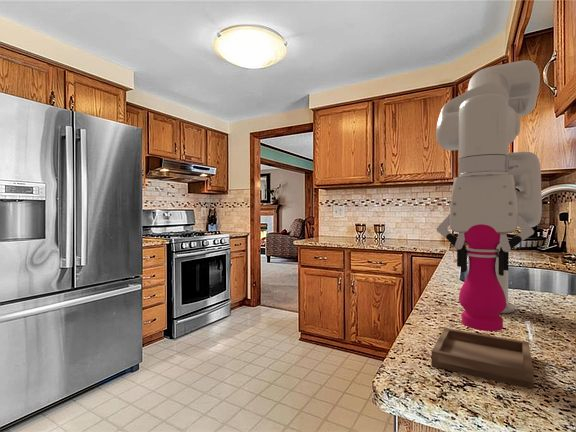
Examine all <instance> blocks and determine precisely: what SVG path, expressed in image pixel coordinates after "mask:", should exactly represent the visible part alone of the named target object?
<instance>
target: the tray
mask: <svg viewBox="0 0 576 432" xmlns="http://www.w3.org/2000/svg"><path fill="white" fill-rule="evenodd" d="M532 361H533V360H532V355H531V349H530V343H529V341H524V340H518V339H513V338H506V337H501V336H495V335H488V334H482V333H476V332H469V331H464V330H460V329H459V330H458V329H452V328H446V327H444V328H443V330H442V332H441V333H440V335H439V337H438V338H437V341H436V342H435V344H434V346H433V348H432V350H431V360H430V362H431V367H434V368H438V369H442V370H447V371H451V372H456V373H460V374H463V375H469V376H473V377H474V376H475V377H478V378H482V379H485V380H486V379H487V380H491V381H495V382H500V383H504V384H507V385H512V386H516V387H517V386H518V387H521V388H525V389H530V390H534V367H533V362H532Z"/></svg>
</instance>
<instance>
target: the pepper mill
mask: <svg viewBox="0 0 576 432" xmlns="http://www.w3.org/2000/svg"><path fill="white" fill-rule="evenodd" d="M464 238H465V244H467V247H466V250H467V253H466V255H467V257H468V256H469V272H468V271H467V272H468V273H467V276H466V278H465V280H464V282H463V284H462V286H461V288H460V290H459V295H458V301H459V304H460V306H461V307H462V308H463V310H464V311H463V312H462V313H461V323H462V325H464V326H465V327H467V328H470V329H474V330H478V331H483V332H500V331H502V330H503V328H504V319H503V317H502V316H500V314H502V313H501V312H502V311H504V309H505V308H506V305H507V304H506V297H505V294H504V291H503V289H502V287H501V285H500V283H499V281H498V279H497V275H496V270H495V263H496V258H497V257H499V255H498V252H499V249H496V248H497V246H498V244H499V243H500V234H499V233H497V232H496V231H495V229H494V228H492V227H491V226H488V225H483V224H479V225H475V226H472V227H471V228H469V230H468V231H467V232H466V233H464ZM468 246H469V247H468Z"/></svg>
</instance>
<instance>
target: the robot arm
mask: <svg viewBox="0 0 576 432" xmlns="http://www.w3.org/2000/svg"><path fill="white" fill-rule="evenodd" d="M540 75H541V74H540V70H539V68H538V66H537V64H536V63H535V62H534V61H532V60H529V59H527V60H526V59H523V60H517V61H513V62H508V63H503V64H499V65H497V64H496V65H492V66H489V67H488V66H487V67H485V68H482V69H479V70H478V71H477V72H475V73H474V74H473V75H472V76H471V78H470V79H469V83H468V86H467V90H466V91H465V92H463V93H462V94H459V95H458V96H456V97H454V98H452V99H450V100H449V101H448V102H446V103H445V104H444V105H443V106H442V108H441V110H440V112H439V116H438V119H437V123H436V127H435V138H436V142H437V144H438V145H439V147H440V148H441V149H443V150H445V151H458V176H457V177H454V180H453V185H452V189H451V197H450V207H449V208H450V209H449V214H448V215H447V216H446V218H444V220H443V221H442V222H440V224H439V226H438V227H437V228H436V232H437V233H439V235H441V236H442V237H444V238H445V239H446V241H448V243H450V244H451V245H452V246H454V247H455V249H456V266H457V267H458V268H460V273H467V272H469V256H467V255H466V253H467V250H466V248H468V247H469V246H468V245H467V246H466V242H465V238H464V233H466V232H467V231H468V230H469V228H471V227H472V226H475V225H479V224H483V225H488V226H491V227H492V228H494V229H495V231H496V232H497V233H499V234H500V243H499V244H498V246H497V248H496V249H499V252H498V255H499V257H497V258H496V263H495V270H496V275H497V279H498V281H499V283H500V285H501V287H502V289H503V291H504V294H505V297H506V304H507V305H506V308H505V309H504V311H502V312H501V313H500V314H508V313H510V314H511V313H513V312H515V310H516V306H515V305H514V304H513V303H511V302H510V301H509V267H510V266H509V263H510V261H509V260H510V259H509V256H510V255H509V252H510V251H511V250H513V249H514V248H515V247H516V246H518V245H519V244H520V243H522V242H523V241H524V240H526V239H528V238H529V237H531V236H533V235H534V233H535V230H534V229H533V228H534V227H536V226H538V225H539V224H540V223H541V219H542V216H543V215H542V212H543V201H542V200H543V199H542V171H541V170H542V169H541V163H540V159H539V156H538V155H536V154H535V153H533V152H531V151H517V152H515V151H514V152H509V144H512V143H513V142H514V141H515V140H516V138H517V136H519V134H520V131H521V118H520V117H523V116H527V115H529V114H531V113H532V112H533V111H534V109H535V108H536V105H537V104H536V103H537V99H538V94H539V91H540V84H541V76H540ZM517 189H518V190H519V191H517ZM449 227H450V230H451V231H453V232H455V233H458V236H455V234H453V233H452V232H450V231H449V229H448V228H449ZM518 228H519V229H520V230H521V231H520V232H519V233H517V234H516V235H514V236H513V237H511V239H509V238H508V234H512V233H514V232H515V231H516V230H517V229H518Z"/></svg>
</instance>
